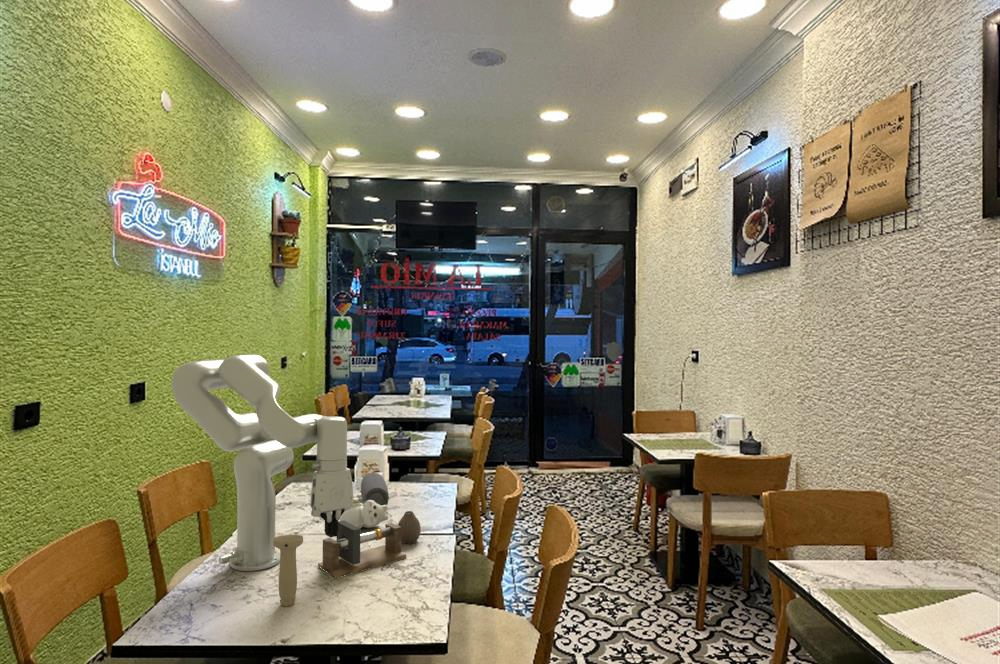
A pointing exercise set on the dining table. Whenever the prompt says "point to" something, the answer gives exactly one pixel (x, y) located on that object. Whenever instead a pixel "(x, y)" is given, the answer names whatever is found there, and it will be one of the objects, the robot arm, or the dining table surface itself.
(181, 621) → the dining table surface
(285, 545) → the handle
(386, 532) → the pipe
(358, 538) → the collar
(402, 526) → the vase
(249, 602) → the dining table surface
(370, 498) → the bluetooth speaker
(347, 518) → the cat figurine
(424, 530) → the dining table surface
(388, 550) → the stand
